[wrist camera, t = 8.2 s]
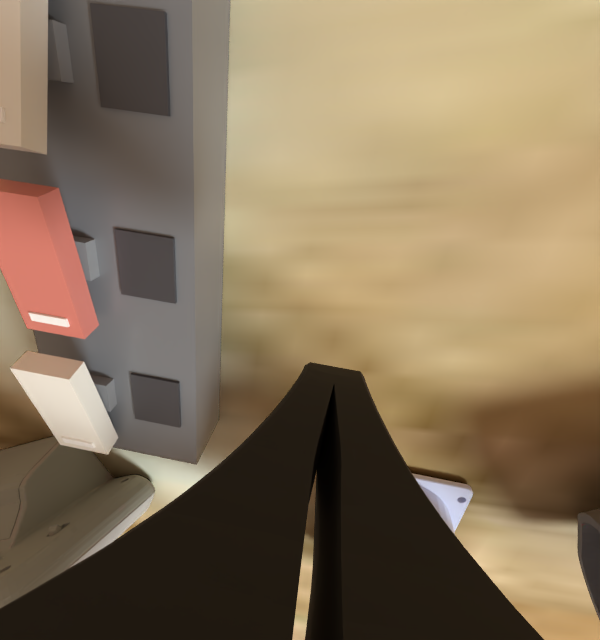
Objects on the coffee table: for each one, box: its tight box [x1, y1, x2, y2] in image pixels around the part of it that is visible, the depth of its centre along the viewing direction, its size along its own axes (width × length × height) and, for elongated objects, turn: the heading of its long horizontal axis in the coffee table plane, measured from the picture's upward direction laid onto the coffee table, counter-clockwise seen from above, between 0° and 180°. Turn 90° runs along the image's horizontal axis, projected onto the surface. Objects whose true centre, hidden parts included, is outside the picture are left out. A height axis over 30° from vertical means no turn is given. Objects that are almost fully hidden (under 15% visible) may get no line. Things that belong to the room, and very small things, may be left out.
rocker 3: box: [10, 351, 118, 455], centre depth 18 cm, size 6×3×1 cm, turn 174°
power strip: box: [0, 0, 230, 465], centre depth 16 cm, size 26×8×4 cm, turn 173°
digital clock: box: [0, 436, 155, 608], centre depth 24 cm, size 16×9×11 cm, turn 101°
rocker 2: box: [0, 179, 99, 339], centre depth 14 cm, size 6×3×1 cm, turn 174°
